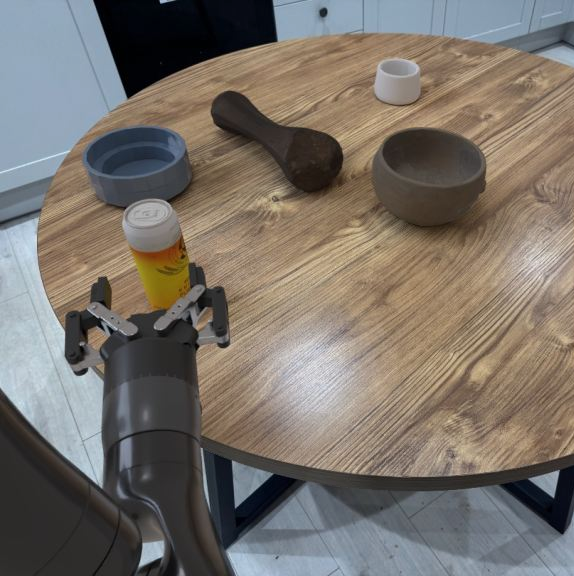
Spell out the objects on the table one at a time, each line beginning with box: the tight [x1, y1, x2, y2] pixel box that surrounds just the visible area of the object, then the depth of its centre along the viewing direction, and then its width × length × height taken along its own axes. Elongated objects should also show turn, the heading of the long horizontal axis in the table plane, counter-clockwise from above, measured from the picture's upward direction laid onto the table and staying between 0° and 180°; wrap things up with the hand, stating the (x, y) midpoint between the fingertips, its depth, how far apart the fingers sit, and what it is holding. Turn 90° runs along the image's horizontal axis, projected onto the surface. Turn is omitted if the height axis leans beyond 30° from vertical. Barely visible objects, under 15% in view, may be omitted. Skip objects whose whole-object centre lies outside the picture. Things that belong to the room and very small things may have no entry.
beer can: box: [121, 199, 191, 311], centre depth 70 cm, size 6×6×15 cm
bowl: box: [370, 126, 488, 227], centre depth 89 cm, size 17×18×10 cm
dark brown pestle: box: [209, 89, 344, 192], centre depth 98 cm, size 11×10×28 cm
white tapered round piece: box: [373, 58, 422, 106], centre depth 118 cm, size 12×10×6 cm
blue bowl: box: [81, 124, 193, 208], centre depth 91 cm, size 15×15×6 cm
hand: (149, 275), depth 58 cm, fingers open, 8 cm apart
